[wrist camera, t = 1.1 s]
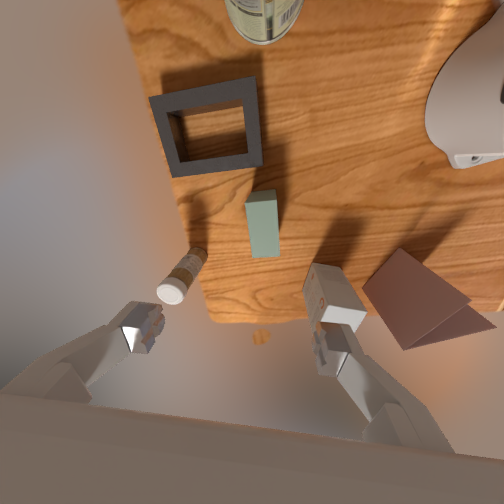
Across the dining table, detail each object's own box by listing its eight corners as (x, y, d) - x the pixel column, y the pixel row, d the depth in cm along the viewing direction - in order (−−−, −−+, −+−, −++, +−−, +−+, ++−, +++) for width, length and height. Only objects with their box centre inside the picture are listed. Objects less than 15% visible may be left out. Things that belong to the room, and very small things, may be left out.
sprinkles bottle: (190, 263, 43) (159, 305, 31) (186, 246, 41) (151, 283, 29) (209, 263, 42) (185, 306, 31) (206, 246, 40) (179, 284, 29)
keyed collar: (257, 85, 27) (255, 75, 23) (264, 164, 32) (263, 166, 28) (163, 104, 29) (148, 97, 25) (182, 175, 34) (172, 177, 30)
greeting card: (363, 290, 42) (404, 353, 29) (351, 267, 39) (391, 323, 26) (419, 270, 38) (497, 331, 25) (411, 242, 36) (492, 294, 22)
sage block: (275, 189, 33) (276, 199, 26) (278, 234, 38) (280, 256, 30) (251, 191, 34) (244, 203, 26) (256, 236, 38) (252, 257, 30)
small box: (328, 294, 43) (348, 345, 32) (301, 290, 43) (312, 338, 32) (341, 266, 40) (369, 312, 28) (311, 261, 40) (328, 304, 28)
